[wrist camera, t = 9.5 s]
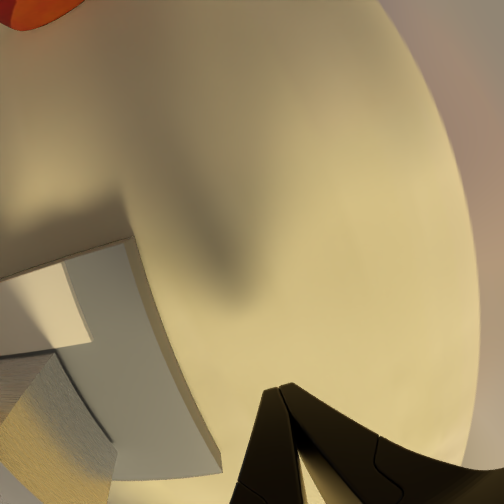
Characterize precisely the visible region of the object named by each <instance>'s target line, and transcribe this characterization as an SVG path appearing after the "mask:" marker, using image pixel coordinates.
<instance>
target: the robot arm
mask: <svg viewBox="0 0 504 504" xmlns="http://www.w3.org/2000/svg"><path fill="white" fill-rule="evenodd" d="M298 452H299V455H300V457H301V459H302V461H303V463H304V465H305V467H306V468H307V470H308V472H309V474H310V476H311V478H312V479H313V481H314V483H315V485H316V487H317V489H318V490H319V492H320V494H321V496H322V498H323V499H324V501H325V503H326V504H504V468H501V469H495V470H473V469H468V468H464V467H460V466H456V465H453V464H449V463H446V462H443V461H439V460H436V459H433V458H430V457H427V456H424V455H421V454H418V453H416V452H413V451H410V450H408V449H406V448H404V447H402V446H399V445H397V444H395V443H393V442H391V441H389V440H388V439H386V438H384V437H382V436H380V437H379V435H378V434H376V433H375V432H373V431H371V430H369V429H368V428H366V427H364V426H362V425H361V424H359V423H357V422H355V421H354V420H352V419H350V418H349V417H347V416H345V415H344V414H342V413H340V412H339V411H337V410H335V409H334V408H332V407H330V406H329V405H327V404H326V403H324V402H322V401H321V400H319V399H318V398H316V397H315V396H313V395H311V394H310V393H308V392H307V391H305V390H304V389H302V388H301V387H299V386H298V385H296V384H295V383H292V382H291V383H287V384H284V385H281V386H279V388H278V387H274V388H270V389H266V390H264V391H263V394H262V397H261V401H260V405H259V408H258V412H257V416H256V419H255V423H254V426H253V430H252V433H251V437H250V440H249V444H248V447H247V450H246V454H245V457H244V460H243V464H242V467H241V470H240V473H239V477H238V480H237V481H238V482H237V483H236V486H235V489H234V492H233V495H232V498H231V500H230V503H229V504H308V503H307V497H306V491H305V486H304V481H303V475H302V470H301V464H300V459H299V455H298Z"/></svg>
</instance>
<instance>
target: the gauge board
mask: <svg viewBox="0 0 504 504" xmlns="http://www.w3.org/2000/svg"><path fill="white" fill-rule="evenodd" d="M48 353H55V354H56V356H57V358H58V360H59V362H60V364H61V366H62V367H63V369H64V371H65V373H66V375H67V377H68V378H69V380H70V382H71V384H72V385H73V387H74V389H75V390H76V392H77V394H78V395H79V397H80V399H81V400H82V402H83V403H84V405H85V407H86V408H87V410H88V411H89V413H90V414H91V416H92V417H93V419H94V420H95V422H96V423H97V424H98V426H99V427H100V429H101V430H102V432H103V433H104V434H105V436H106V437H107V438H108V440H109V441H110V442H111V444H112V445H113V446H114V448H115V449H116V450H117V451H118V455H117V459H116V463H115V467H114V472H113V476H112V480H115V481H146V480H167V479H179V478H189V477H198V476H206V475H213V474H219V473H223V470H222V461H221V453H220V451H219V449H218V448H217V446H216V444H215V442H214V440H213V438H212V436H211V434H210V432H209V430H208V428H207V426H206V424H205V422H204V420H203V418H202V416H201V414H200V412H199V410H198V408H197V406H196V403H195V401H194V399H193V397H192V395H191V393H190V390H189V388H188V386H187V384H186V381H185V379H184V377H183V374H182V372H181V370H180V367H179V365H178V362H177V360H176V358H175V355H174V353H173V350H172V348H171V345H170V343H169V340H168V337H167V335H166V332H165V330H164V327H163V324H162V321H161V319H160V316H159V313H158V310H157V308H156V305H155V302H154V299H153V296H152V293H151V290H150V287H149V284H148V281H147V278H146V275H145V271H144V268H143V265H142V262H141V258H140V255H139V251H138V248H137V245H136V241H135V237H134V236H133V237H130V238H126V239H123V240H119V241H116V242H113V243H109V244H106V245H102V246H99V247H96V248H92V249H89V250H86V251H83V252H79V253H76V254H73V255H70V256H67V257H64V258H61V259H57V260H54V261H51V262H48V263H45V264H42V265H39V266H36V267H33V268H30V269H27V270H25V271H22V272H19V273H16V274H13V275H10V276H7V277H5V278H2V279H0V359H8V358H17V357H25V356H33V355H40V354H48Z"/></svg>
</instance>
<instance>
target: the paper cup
mask: <svg viewBox="0 0 504 504" xmlns="http://www.w3.org/2000/svg"><path fill="white" fill-rule="evenodd" d="M83 1H84V0H0V23H2V24H4V25H6V26H8V27H10V28H12V29H15V30H19V31H26V30H32V29H35V28H38V27H41V26H44V25H46V24H48V23H50V22H52V21H54V20H56V19H58V18H60V17H61V16H63V15H65V14H66V13H68V12H69V11H71V10H72V9H74V8H75V7H77V6H78V5H79V4H81V3H82V2H83Z"/></svg>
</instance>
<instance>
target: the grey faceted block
mask: <svg viewBox="0 0 504 504" xmlns="http://www.w3.org/2000/svg"><path fill="white" fill-rule="evenodd" d="M117 455H118V451H117V450H116V449H115V448H114V446H113V445H112V444H111V442H110V441H109V440H108V438H107V437H106V436H105V434H104V433H103V432H102V430H101V429H100V427H99V426H98V424H97V423H96V422H95V420H94V419H93V417H92V416H91V414H90V413H89V411H88V410H87V408H86V407H85V405H84V403H83V402H82V400H81V399H80V397H79V395H78V394H77V392H76V390H75V389H74V387H73V385H72V384H71V382H70V380H69V378H68V377H67V375H66V373H65V371H64V369H63V367H62V366H61V364H60V362H59V360H58V358H57V356H56V354H55V353H48V354H40V355H33V356H25V357H17V358H8V359H0V504H107V500H108V495H109V490H110V485H111V481H112V476H113V472H114V467H115V463H116V459H117Z"/></svg>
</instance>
